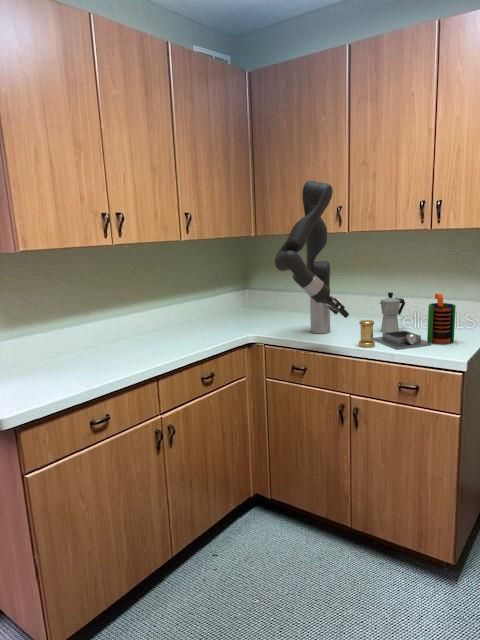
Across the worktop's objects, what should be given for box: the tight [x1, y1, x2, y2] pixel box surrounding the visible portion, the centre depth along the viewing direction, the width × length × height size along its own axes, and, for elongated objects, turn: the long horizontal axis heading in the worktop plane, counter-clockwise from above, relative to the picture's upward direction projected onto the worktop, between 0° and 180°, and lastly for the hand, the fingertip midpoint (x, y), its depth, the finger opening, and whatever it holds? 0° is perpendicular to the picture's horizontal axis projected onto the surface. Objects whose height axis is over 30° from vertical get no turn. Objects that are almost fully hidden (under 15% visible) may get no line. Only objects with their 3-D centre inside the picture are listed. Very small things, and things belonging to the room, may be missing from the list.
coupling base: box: [373, 330, 433, 351], centre depth 203 cm, size 18×16×5 cm
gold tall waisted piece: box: [358, 319, 376, 349], centre depth 200 cm, size 6×6×10 cm
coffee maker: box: [379, 291, 406, 333], centre depth 224 cm, size 15×9×18 cm, turn 115°
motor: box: [426, 292, 457, 346], centre depth 199 cm, size 10×9×20 cm
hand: (342, 314), depth 196 cm, fingers open, 8 cm apart
